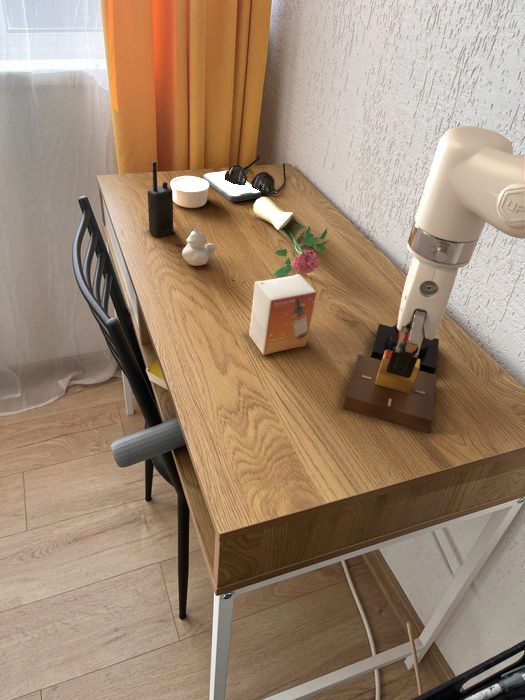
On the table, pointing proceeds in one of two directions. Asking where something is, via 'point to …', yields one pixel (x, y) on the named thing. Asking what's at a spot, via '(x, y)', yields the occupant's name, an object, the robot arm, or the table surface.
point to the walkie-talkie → (160, 207)
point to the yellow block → (395, 376)
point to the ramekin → (189, 191)
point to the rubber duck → (198, 249)
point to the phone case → (231, 187)
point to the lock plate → (390, 397)
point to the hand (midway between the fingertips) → (401, 352)
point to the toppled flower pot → (291, 236)
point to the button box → (389, 339)
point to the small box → (281, 313)
